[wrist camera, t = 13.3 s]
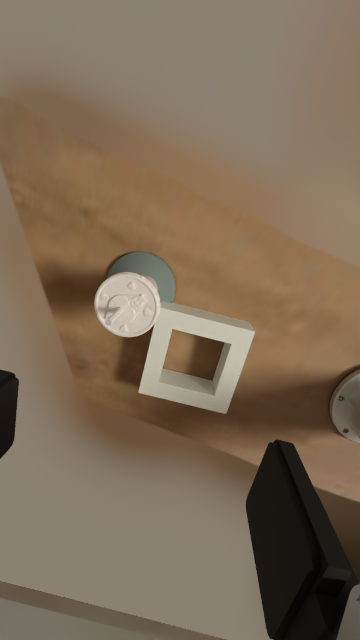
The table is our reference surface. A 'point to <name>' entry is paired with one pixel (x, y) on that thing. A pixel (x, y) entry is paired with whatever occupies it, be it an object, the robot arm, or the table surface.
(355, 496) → the table surface
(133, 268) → the coaster
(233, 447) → the table surface
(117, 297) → the lidded cup with straw
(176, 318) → the holder
